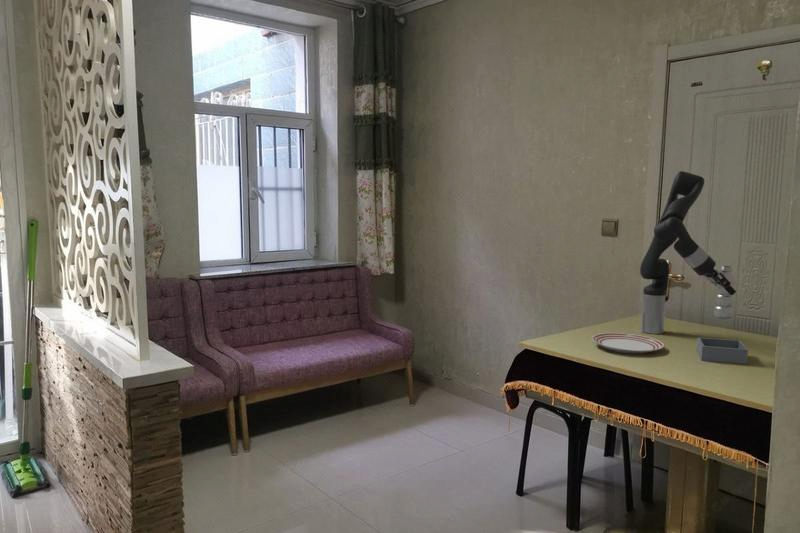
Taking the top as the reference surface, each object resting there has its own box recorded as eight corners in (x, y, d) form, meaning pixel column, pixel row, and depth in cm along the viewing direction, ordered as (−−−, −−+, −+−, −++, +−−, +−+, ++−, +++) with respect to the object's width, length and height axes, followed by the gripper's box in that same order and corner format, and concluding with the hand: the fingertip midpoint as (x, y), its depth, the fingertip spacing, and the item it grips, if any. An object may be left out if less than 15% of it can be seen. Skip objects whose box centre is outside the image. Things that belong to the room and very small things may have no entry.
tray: (701, 360, 224) (702, 346, 224) (696, 350, 238) (697, 337, 238) (747, 364, 219) (748, 349, 219) (739, 354, 233) (740, 340, 233)
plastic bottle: (731, 317, 229) (734, 265, 227) (734, 321, 223) (738, 267, 221) (712, 316, 231) (715, 265, 229) (715, 319, 225) (718, 266, 223)
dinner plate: (673, 347, 244) (674, 339, 244) (648, 361, 224) (649, 352, 224) (608, 337, 263) (608, 329, 262) (579, 348, 243) (580, 340, 242)
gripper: (714, 255, 218) (746, 288, 218) (699, 251, 232) (728, 282, 232) (698, 269, 219) (730, 302, 219) (683, 265, 233) (713, 295, 233)
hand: (729, 292), depth 226 cm, fingers closed on plastic bottle, 6 cm apart
